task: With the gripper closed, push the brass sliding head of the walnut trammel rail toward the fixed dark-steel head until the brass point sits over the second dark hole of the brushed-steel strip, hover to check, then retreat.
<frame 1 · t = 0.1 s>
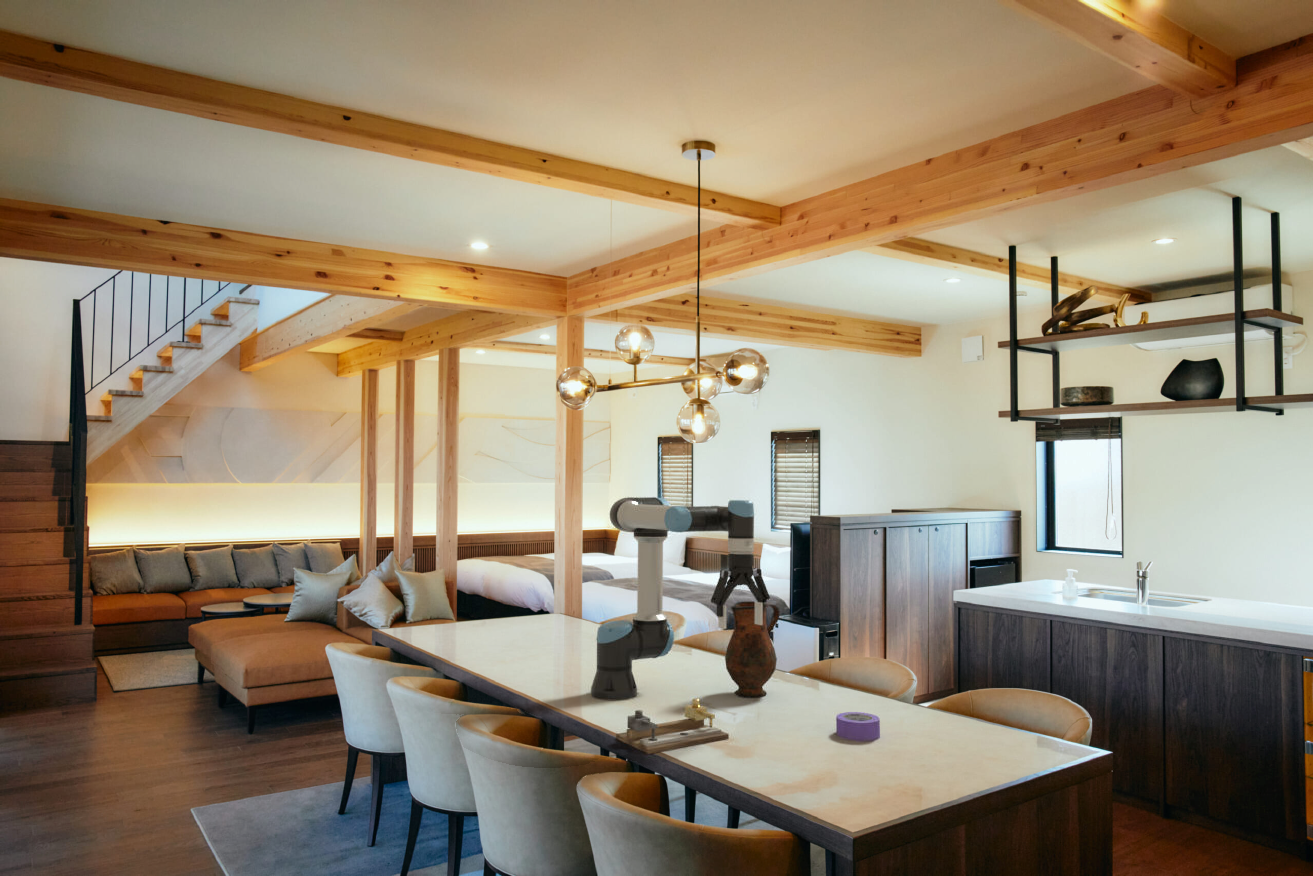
hand: (740, 626, 247), 28 cm above the table, fingers open, 13 cm apart
tape roll: (858, 736, 235), on the table
pitcher: (755, 694, 282), on the table
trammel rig: (672, 738, 230), on the table
sliding head: (701, 712, 236), point 5 cm above the table, slide at 0.0 cm
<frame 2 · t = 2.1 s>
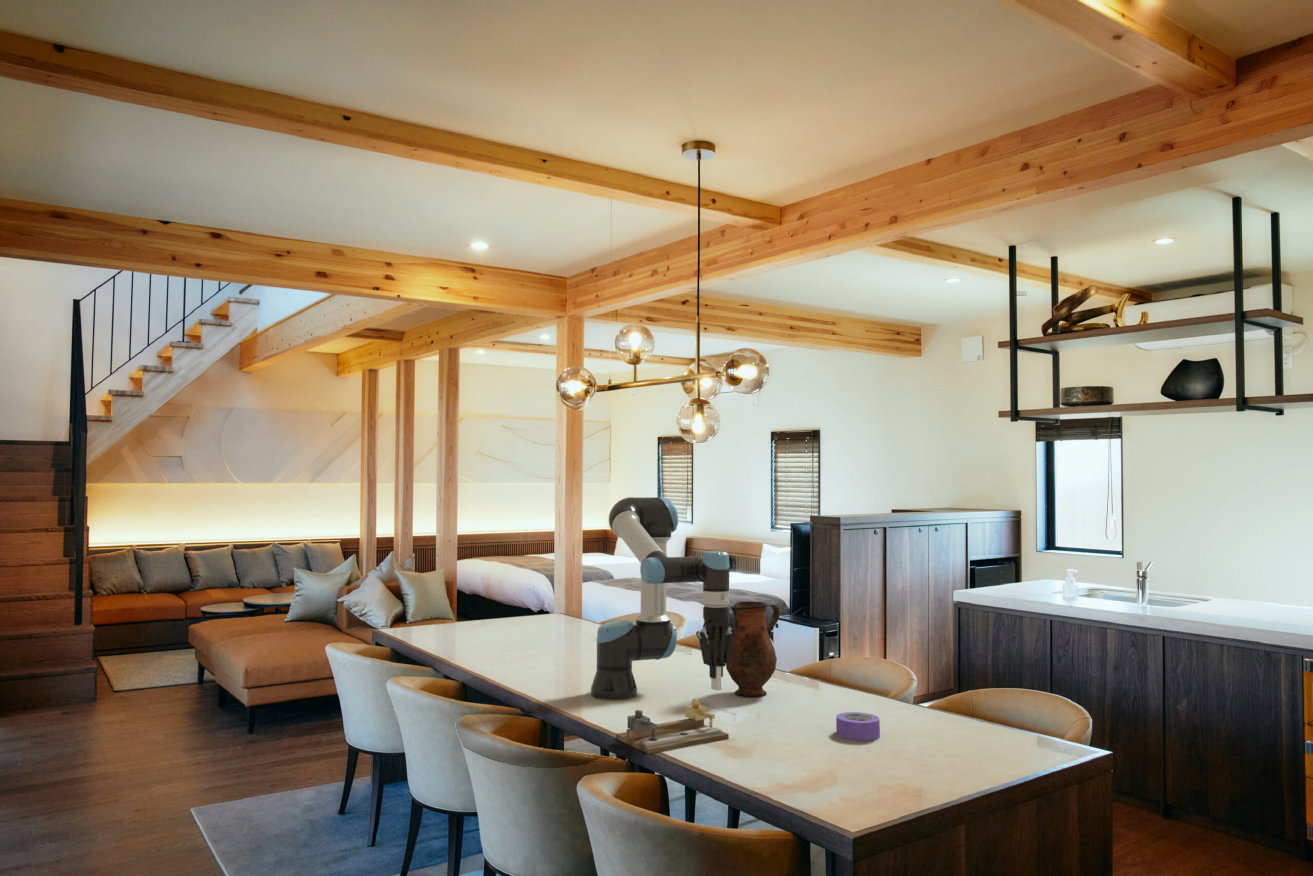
hand: (716, 689, 242), 11 cm above the table, fingers closed
nothing on the table moved.
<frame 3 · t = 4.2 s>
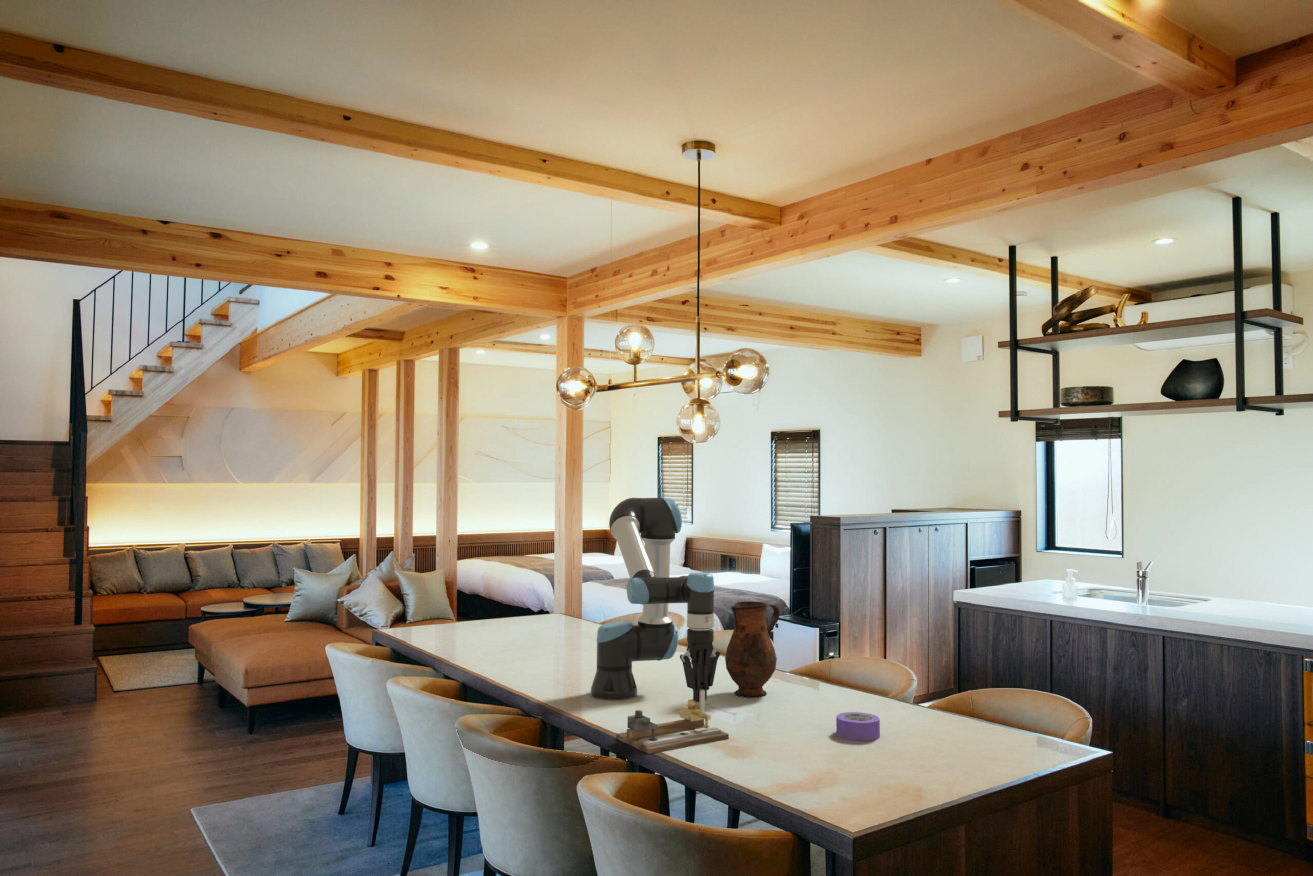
hand: (699, 713, 239), 5 cm above the table, fingers closed
sliding head: (697, 713, 235), point 5 cm above the table, slide at 1.5 cm, touching gripper
everything else where it was.
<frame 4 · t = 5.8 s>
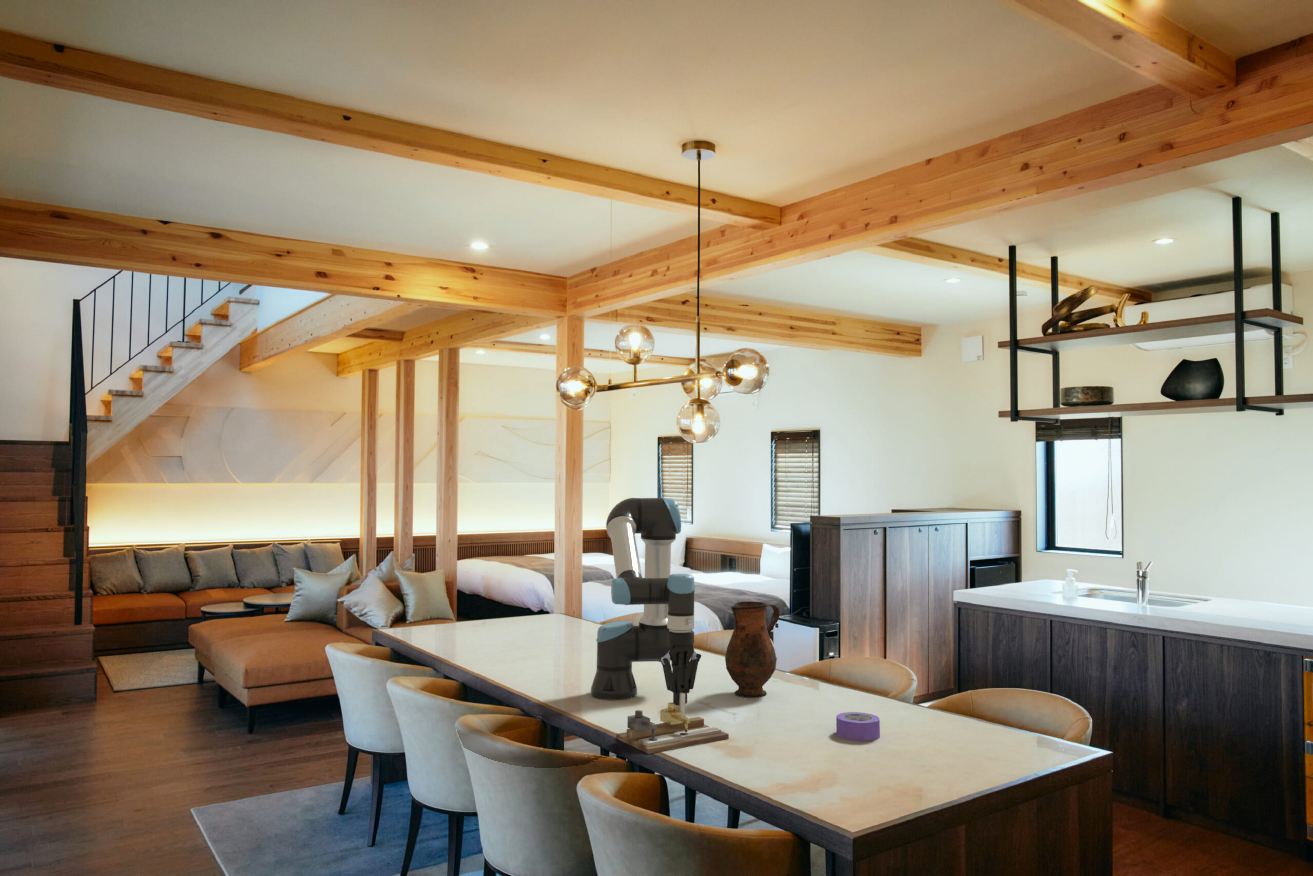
hand: (680, 716, 235), 5 cm above the table, fingers closed
sliding head: (677, 716, 231), point 5 cm above the table, slide at 8.4 cm, touching gripper
everything else where it was.
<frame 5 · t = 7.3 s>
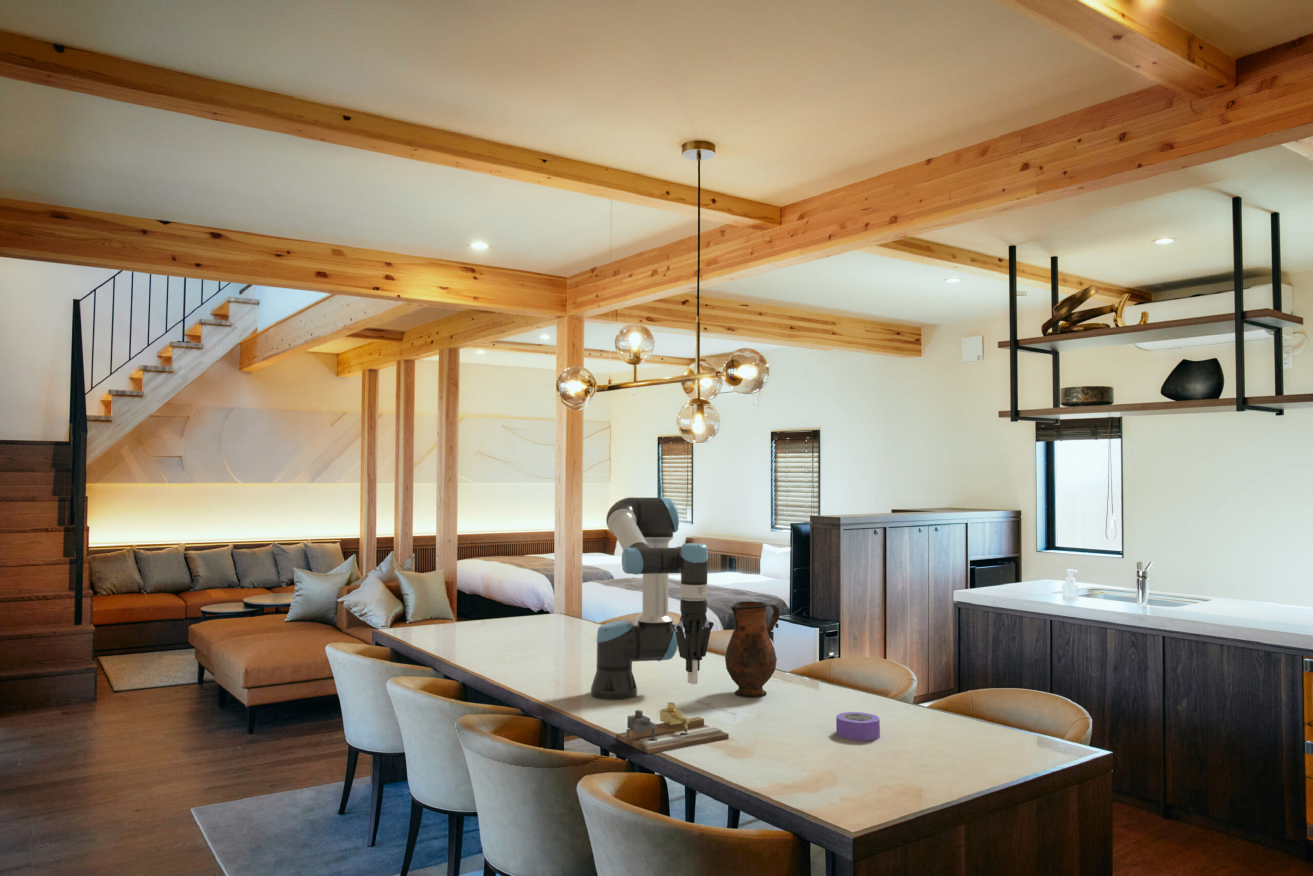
hand: (692, 683, 239), 13 cm above the table, fingers closed
sliding head: (676, 716, 231), point 5 cm above the table, slide at 8.4 cm
everything else where it was.
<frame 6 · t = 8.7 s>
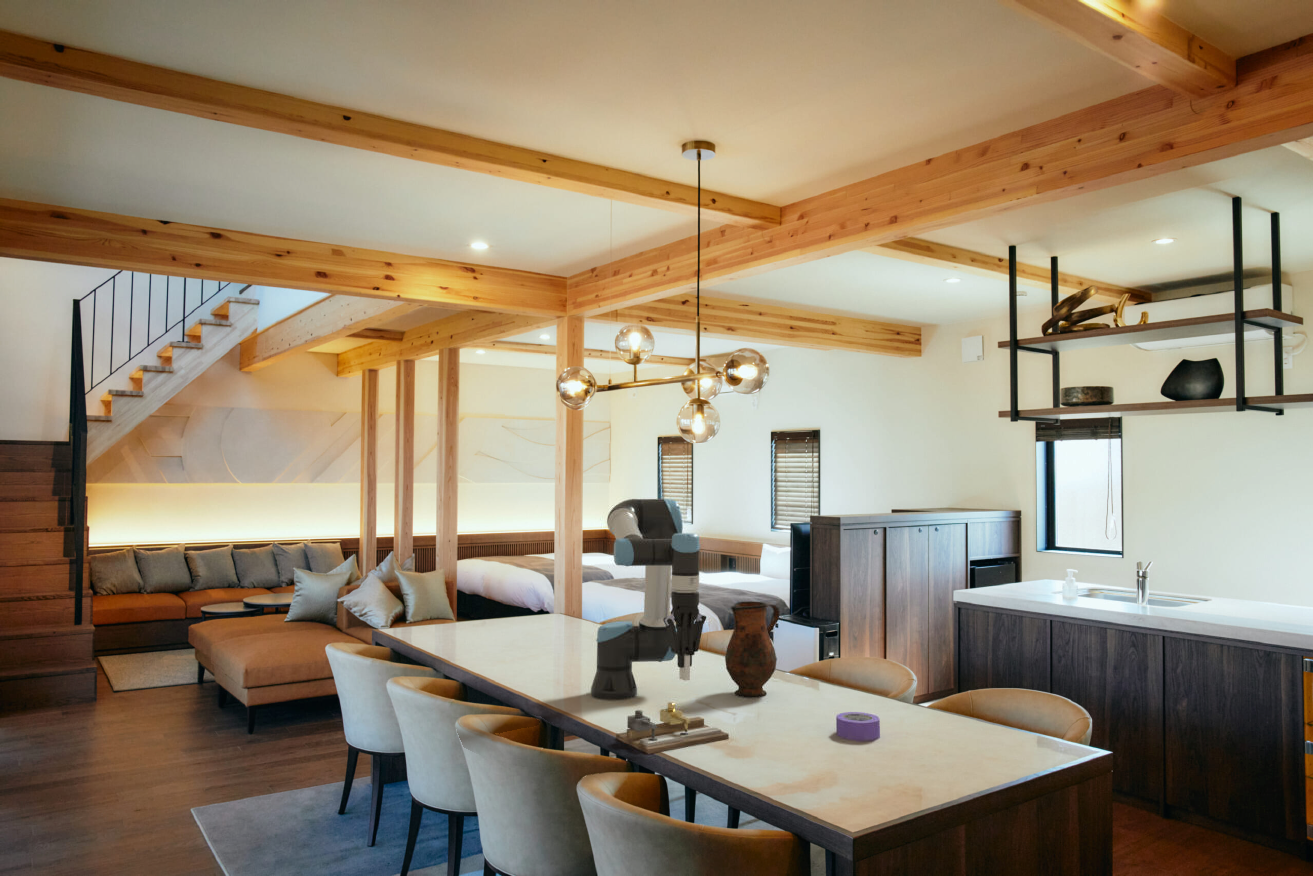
hand: (684, 679, 228), 16 cm above the table, fingers closed
nothing on the table moved.
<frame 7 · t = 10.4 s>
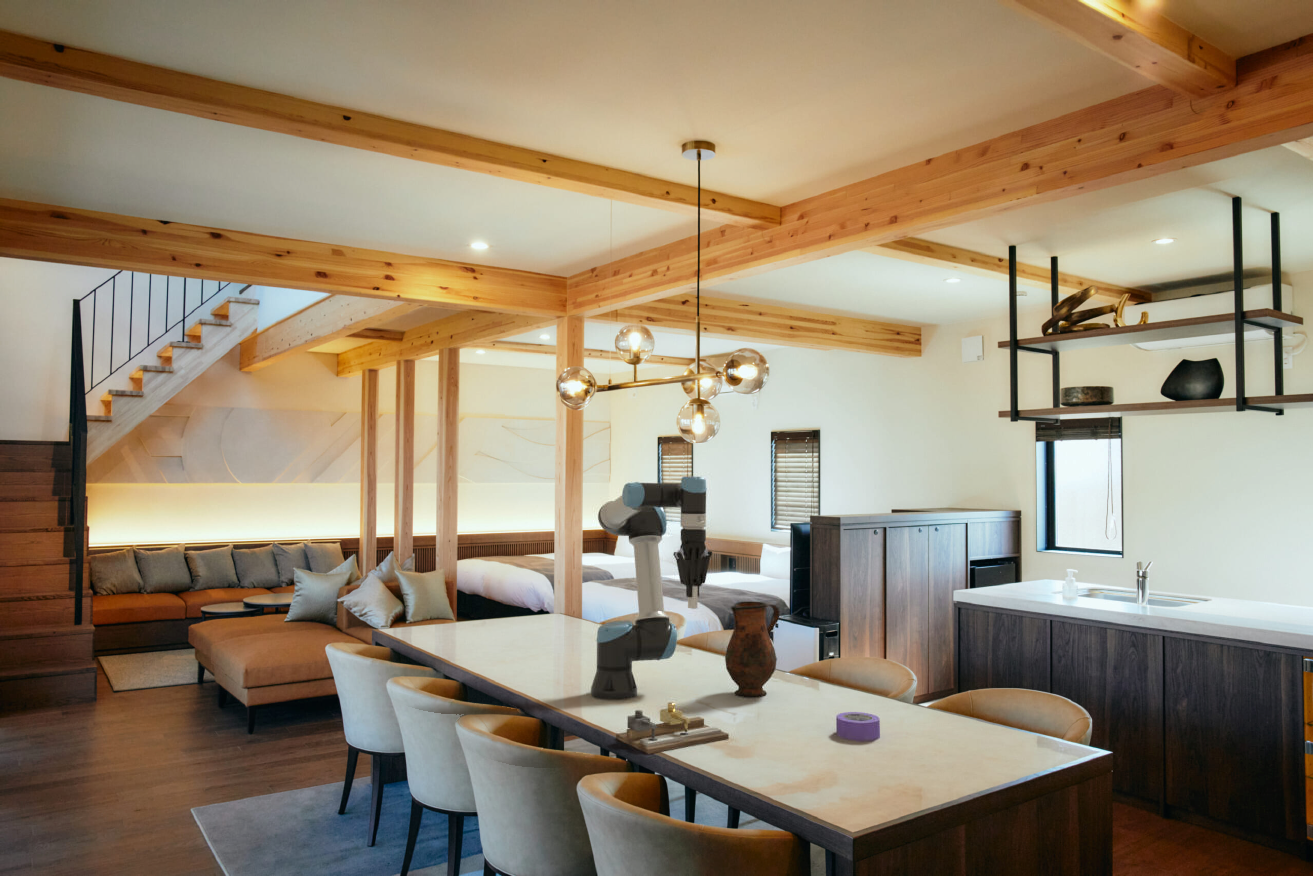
hand: (692, 608, 252), 32 cm above the table, fingers closed
nothing on the table moved.
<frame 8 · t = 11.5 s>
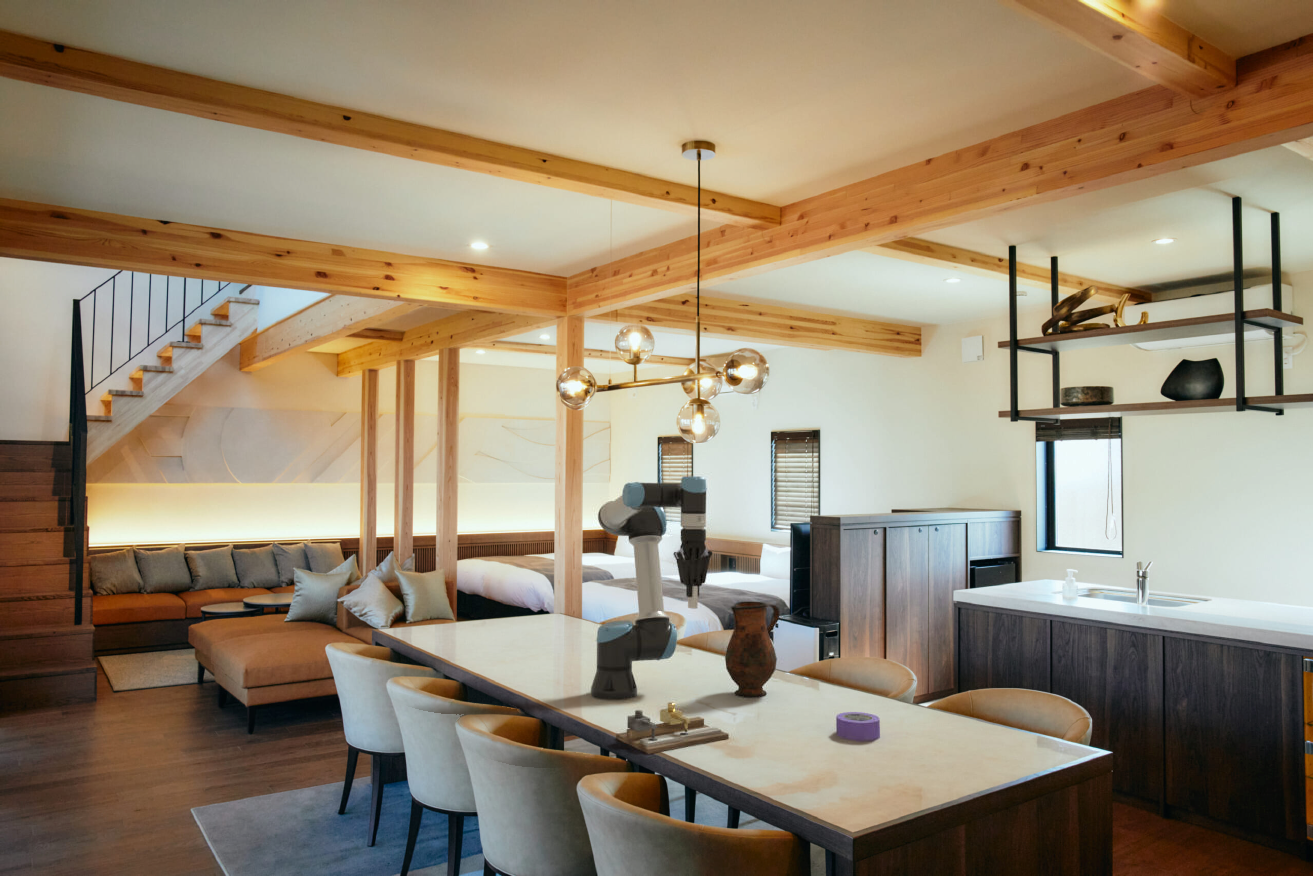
hand: (692, 608, 252), 32 cm above the table, fingers closed
nothing on the table moved.
at the end: sliding head slide at 8.4 cm; the gripper is holding nothing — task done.
